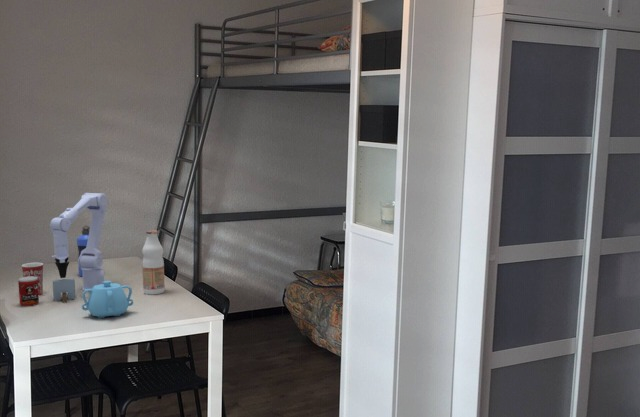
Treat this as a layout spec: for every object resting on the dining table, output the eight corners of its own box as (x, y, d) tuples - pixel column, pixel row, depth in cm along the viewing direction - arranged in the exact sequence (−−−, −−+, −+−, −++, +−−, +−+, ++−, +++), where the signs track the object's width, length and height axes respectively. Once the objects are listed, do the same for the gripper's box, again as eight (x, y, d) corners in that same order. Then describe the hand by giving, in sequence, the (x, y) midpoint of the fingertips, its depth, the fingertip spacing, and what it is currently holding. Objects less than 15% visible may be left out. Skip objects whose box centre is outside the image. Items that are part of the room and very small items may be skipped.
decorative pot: (108, 322, 278) (106, 288, 277) (78, 316, 286) (76, 283, 284) (137, 312, 293) (136, 279, 291) (108, 307, 300) (107, 275, 298)
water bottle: (102, 274, 361) (99, 225, 358) (87, 278, 353) (84, 227, 350) (89, 272, 366) (87, 223, 363) (74, 276, 358) (72, 226, 355)
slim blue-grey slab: (75, 297, 316) (74, 278, 315) (75, 298, 314) (74, 279, 313) (53, 299, 313) (52, 280, 312) (53, 300, 311) (52, 281, 310)
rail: (66, 295, 319) (65, 289, 319) (66, 302, 308) (66, 295, 308) (62, 296, 319) (62, 289, 319) (62, 302, 308) (62, 295, 307)
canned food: (20, 307, 301) (19, 281, 300) (18, 302, 308) (17, 277, 307) (40, 304, 304) (38, 279, 303) (38, 300, 311) (36, 275, 310)
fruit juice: (141, 295, 320) (139, 232, 316) (145, 289, 329) (143, 229, 326) (162, 294, 320) (160, 232, 317) (166, 289, 330) (164, 229, 326)
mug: (44, 295, 320) (42, 265, 318) (22, 297, 317) (20, 267, 315) (45, 289, 332) (44, 260, 330) (24, 290, 329) (23, 261, 327)
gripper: (51, 243, 317) (52, 273, 319) (51, 248, 304) (53, 280, 306) (68, 241, 320) (69, 271, 322) (69, 247, 306) (70, 278, 308)
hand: (62, 275), depth 314 cm, fingers open, 7 cm apart
